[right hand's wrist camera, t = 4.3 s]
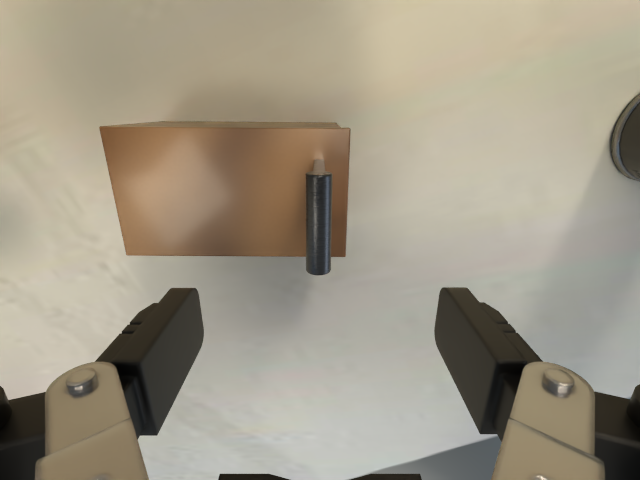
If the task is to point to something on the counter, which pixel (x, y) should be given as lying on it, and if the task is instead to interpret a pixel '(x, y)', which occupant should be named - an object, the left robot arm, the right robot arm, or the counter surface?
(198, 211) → the lid
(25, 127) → the counter surface
